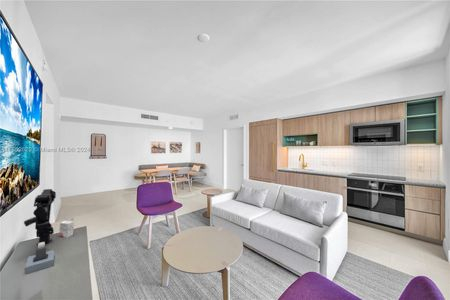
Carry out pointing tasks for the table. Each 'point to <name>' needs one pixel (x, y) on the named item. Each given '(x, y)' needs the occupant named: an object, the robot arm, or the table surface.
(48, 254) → the socket block
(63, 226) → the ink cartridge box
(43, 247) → the plug
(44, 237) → the robot arm
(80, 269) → the table surface
